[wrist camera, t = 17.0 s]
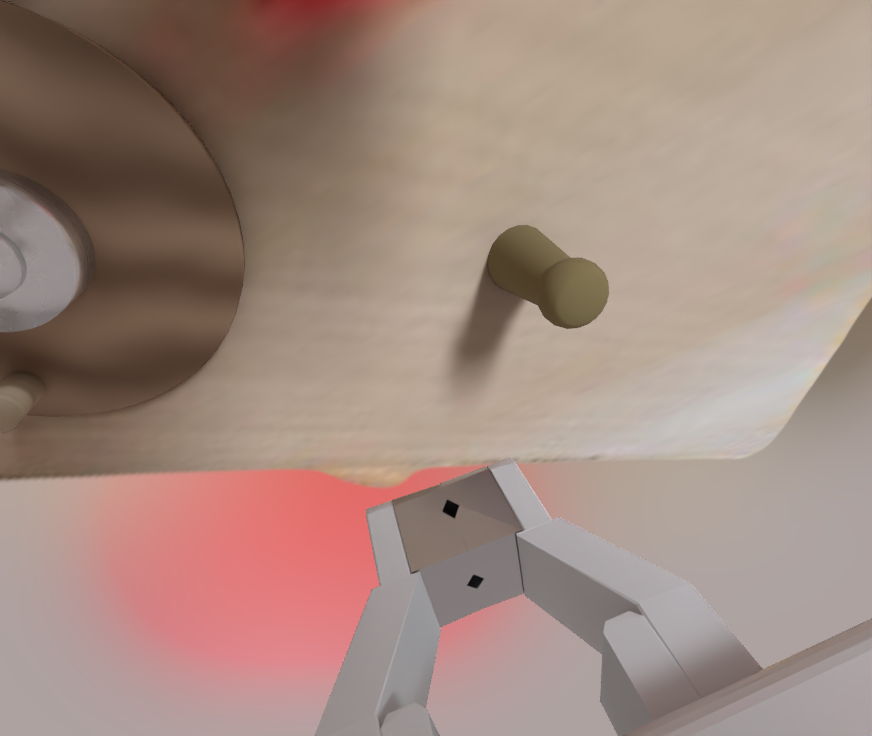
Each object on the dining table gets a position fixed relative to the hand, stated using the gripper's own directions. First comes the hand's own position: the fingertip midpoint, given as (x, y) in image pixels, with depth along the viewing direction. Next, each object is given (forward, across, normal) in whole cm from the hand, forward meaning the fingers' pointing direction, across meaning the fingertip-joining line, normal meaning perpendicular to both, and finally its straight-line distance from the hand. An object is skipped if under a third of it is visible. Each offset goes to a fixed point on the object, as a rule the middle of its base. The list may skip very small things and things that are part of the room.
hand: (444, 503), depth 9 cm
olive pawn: (+31, -15, +9) cm, 35 cm away
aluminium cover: (+29, +20, -3) cm, 35 cm away
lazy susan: (+31, +19, -3) cm, 36 cm away
